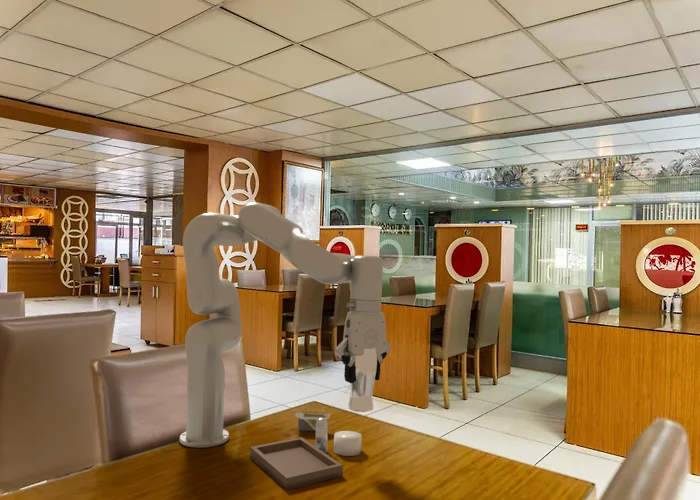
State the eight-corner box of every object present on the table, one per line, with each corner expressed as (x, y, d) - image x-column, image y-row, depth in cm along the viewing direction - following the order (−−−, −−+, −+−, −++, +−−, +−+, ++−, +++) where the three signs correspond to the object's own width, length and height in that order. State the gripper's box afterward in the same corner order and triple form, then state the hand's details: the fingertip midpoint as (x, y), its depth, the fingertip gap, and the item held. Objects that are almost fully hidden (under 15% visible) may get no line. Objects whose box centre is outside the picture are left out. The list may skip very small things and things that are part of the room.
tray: (250, 457, 125) (250, 447, 126) (301, 447, 133) (301, 437, 133) (286, 490, 109) (286, 478, 109) (342, 476, 116) (342, 465, 116)
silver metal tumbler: (372, 413, 120) (375, 349, 120) (343, 410, 122) (346, 347, 122) (377, 405, 127) (379, 344, 127) (349, 402, 128) (352, 342, 128)
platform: (342, 442, 138) (343, 418, 139) (276, 439, 139) (276, 415, 139) (344, 427, 150) (345, 405, 150) (283, 425, 151) (284, 402, 151)
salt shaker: (312, 450, 131) (313, 417, 131) (323, 448, 133) (324, 415, 133) (318, 454, 128) (319, 420, 129) (329, 452, 130) (330, 418, 130)
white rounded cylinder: (327, 450, 131) (328, 434, 131) (345, 444, 136) (346, 429, 136) (349, 457, 126) (350, 441, 127) (366, 451, 132) (367, 435, 132)
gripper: (343, 309, 117) (339, 388, 116) (403, 307, 126) (400, 380, 126) (326, 305, 123) (323, 380, 123) (385, 304, 132) (381, 373, 132)
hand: (362, 379), depth 124 cm, fingers closed on silver metal tumbler, 6 cm apart
